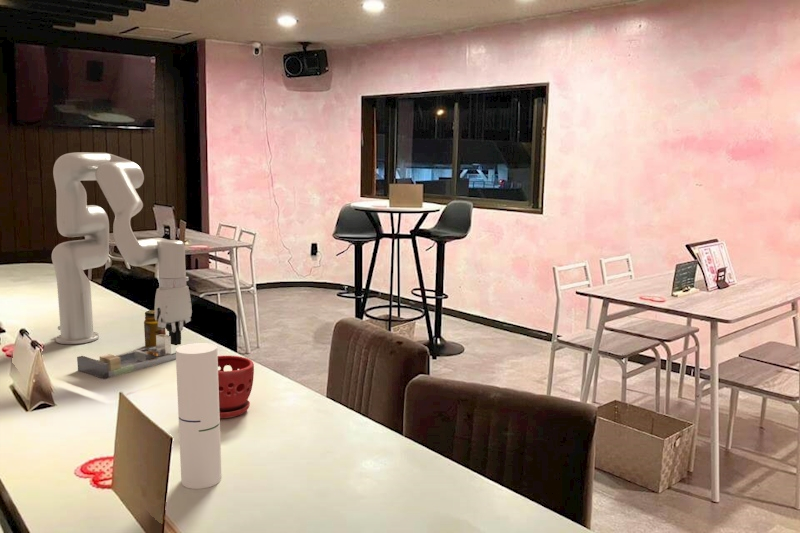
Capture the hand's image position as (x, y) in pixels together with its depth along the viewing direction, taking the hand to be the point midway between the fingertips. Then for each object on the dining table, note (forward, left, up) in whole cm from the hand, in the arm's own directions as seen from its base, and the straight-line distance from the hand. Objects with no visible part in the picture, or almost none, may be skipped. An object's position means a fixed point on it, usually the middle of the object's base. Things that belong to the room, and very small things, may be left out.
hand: (175, 343), depth 208 cm
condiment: (-11, 0, -4) cm, 12 cm away
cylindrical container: (+70, -48, -4) cm, 85 cm away
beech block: (0, -21, -3) cm, 21 cm away
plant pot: (+47, -22, -4) cm, 52 cm away
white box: (+1, -8, -2) cm, 8 cm away
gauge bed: (0, -15, -4) cm, 15 cm away
